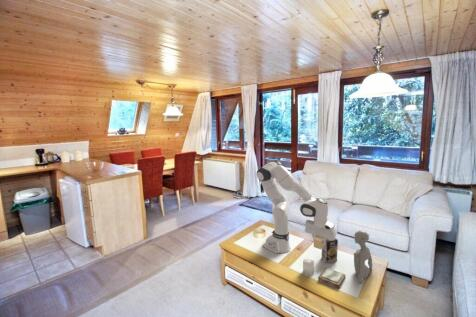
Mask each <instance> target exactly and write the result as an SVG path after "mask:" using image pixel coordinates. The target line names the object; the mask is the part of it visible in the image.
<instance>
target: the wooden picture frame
mask: <svg viewBox="0 0 476 317" xmlns="http://www.w3.org/2000/svg"><path fill="white" fill-rule="evenodd" d="M345 279H346V274H345V273H342V272H339V271H336V270H334V269H331V268H328V267H325V268H324V269H323V270H322V271H321V273H320V274H319V276H318V277H317V280H318V282H320V283H323V284H326V285H328V286H331V287H334V288H335V289H340V288H341V287H342V285H343V283H344V281H345Z"/></svg>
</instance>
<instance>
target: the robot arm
mask: <svg viewBox="0 0 476 317" xmlns="http://www.w3.org/2000/svg"><path fill="white" fill-rule="evenodd" d="M256 176H257V179H258V180H259V181H260V182H261V186H262V188H263V190H264V193H265V194H266V197H267V198H268V199H269V200H270V201H271V203H272V204H273V208H272V216H273V221H274V223H273V224H274V230H272V231H271V235H269V236H268V237H267V238H266V239H265V241H264V243H263V244H262V247H263V248H265V249H266V250H269V251H271V252H273V253H275V254H280V253H281V254H283V253H288V252H290V251H291V245H290V231H289V218H288V217H289V216H288V214H289V213H288V212H289V210H290V208H291V207H290V202H289V200H287V199H286V197H285V196H284V194H283V193H282V191H281V189H280V187H281V188H282V189H283V190H284V191H287V192H294V193H296V194H297V195H298V196H299V197H300V198H301V199H302V200H303V201H304V202H303V203H302V204H301V205H300V207H299V211H300V213H301V214H302V215H303V216H304V217H307V218H308V217H309V218H313V220H311V219H306V220H305V228H304V233H306V234H310V235H311V236H312V237H311V238H312V239H313V241H314V236H315V235H316V236H320V237H323V238H324V239H325V240H323V244H325V242H326V240H327V239H329V240H332V241H333V240H334V239H335V238H336V234H337V233H336V229H335V226H336V225H335V224H334V223H333V222H331V221H330V220H328V215H329V204H328V201H326V200H325V199H323V198H315V197H314V196H312V195H311V194H310V193H309V191H308V190H306V188H304V187H303V185H302V184H301V183H299V182H298V181H297V180H296V178H295V177H294V175H292V174H291V172H290V171H289V170H288V169H287V168H286V167H284V166H283V165H282V163H281V162H280V160H273V161H271V162H268V163H266V164H264V165H263V166H262V167H259V168H258V169H257V171H256ZM278 184H279V185H278ZM279 186H280V187H279ZM336 239H337V238H336Z"/></svg>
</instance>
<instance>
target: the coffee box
mask: <svg viewBox="0 0 476 317" xmlns="http://www.w3.org/2000/svg"><path fill="white" fill-rule="evenodd" d="M338 245H339V240H338V239H337V238H335V239H334V240H333V241H332V240H329V239H327V240H326V242H325V245H324V246H323V248H322V249H321V259H323V261H324V262H326V263H331V262H335V261H338V248H339V246H338Z"/></svg>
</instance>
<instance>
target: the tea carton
mask: <svg viewBox="0 0 476 317" xmlns="http://www.w3.org/2000/svg"><path fill="white" fill-rule="evenodd" d="M323 240H325V239H324V238H323V237H320V236H316V235H314V240H313V248H315V249H319V250H322V248H323V246H324V245H325V244H323Z"/></svg>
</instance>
